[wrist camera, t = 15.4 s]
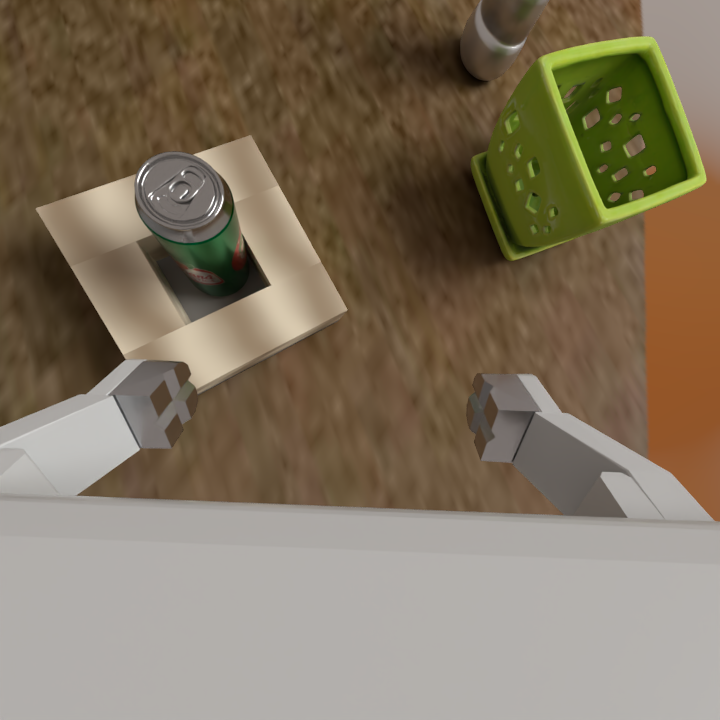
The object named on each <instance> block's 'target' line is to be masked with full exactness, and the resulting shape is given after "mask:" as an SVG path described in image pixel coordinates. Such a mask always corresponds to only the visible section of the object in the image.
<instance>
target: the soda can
mask: <svg viewBox="0 0 720 720" xmlns="http://www.w3.org/2000/svg"><path fill="white" fill-rule="evenodd" d="M134 189H135V205H136V209H137V212H138V214H139V217H140V218H141V220H142V221H143V223H144V224H145V226H146V227H147V228H148V229H149V231H150V232H151V233H152V234H153V236H154V237H155V238H156V239H157V240H158V242H159V243H160V244H161V245H162V247H163V248H164V249H165V250H166V252H167V253H168V254H169V255H170V256H171V258H172V259H173V260H174V261H175V263H176V264H177V265H178V266H179V268H180V269H181V270H182V271H183V272H184V274H185V275H186V276H187V277H188V279H189V280H190V281H191V282H192V284H193V285H194V286H195V287H196V288H197V289H199V290H200V291H202V292H203V293H205V294H208V295H211V296H217V297H222V296H229V295H231V294H234V293H236V292H237V291H239V290H240V289H241V288H242V287H243V286H244V285H245V283H246V282H247V280H248V277H249V271H250V268H249V262H248V258H247V254H246V249H245V245H244V241H243V237H242V233H241V228H240V224H239V220H238V216H237V212H236V207H235V203H234V199H233V195H232V192H231V190H230V188H229V186H228V184H227V183H226V181H225V180H224V179H223V177H222V176H221V175H220V174H219V173H218V172H216V171H215V170H214V169H213V168H212V167H211V166H210V165H209V164H208V163H207V162H205V161H204V160H202V159H201V158H199V157H197V156H195V155H192V154H189V153H184V152H176V151H173V152H164V153H160V154H158V155H155V156H153V157H151V158H150V159H148V160H147V161H146V162H145V163H144V164H143V165H142V166H141V167H140V169H139V170H138V172H137V175H136V178H135V183H134Z"/></svg>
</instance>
